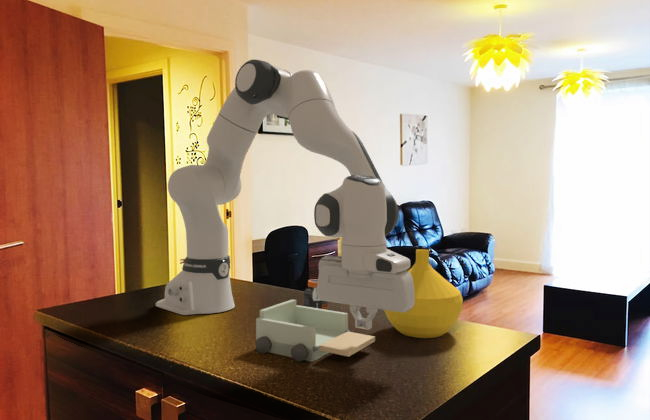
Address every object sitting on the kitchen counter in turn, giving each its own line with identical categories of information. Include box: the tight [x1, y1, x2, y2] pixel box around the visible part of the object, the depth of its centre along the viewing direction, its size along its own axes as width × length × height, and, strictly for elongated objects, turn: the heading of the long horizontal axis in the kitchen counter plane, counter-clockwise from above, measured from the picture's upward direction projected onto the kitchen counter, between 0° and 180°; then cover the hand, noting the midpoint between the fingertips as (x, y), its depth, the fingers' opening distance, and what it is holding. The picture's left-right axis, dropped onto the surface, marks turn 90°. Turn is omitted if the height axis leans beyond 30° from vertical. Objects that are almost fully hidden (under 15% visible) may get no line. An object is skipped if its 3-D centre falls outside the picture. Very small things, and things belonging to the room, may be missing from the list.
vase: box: [383, 248, 464, 339], centre depth 121 cm, size 18×18×19 cm
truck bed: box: [255, 298, 351, 363], centre depth 111 cm, size 15×17×8 cm
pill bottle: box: [303, 278, 330, 310], centre depth 126 cm, size 6×6×11 cm
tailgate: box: [320, 331, 376, 358], centre depth 106 cm, size 1×11×6 cm
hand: (363, 328), depth 103 cm, fingers closed
